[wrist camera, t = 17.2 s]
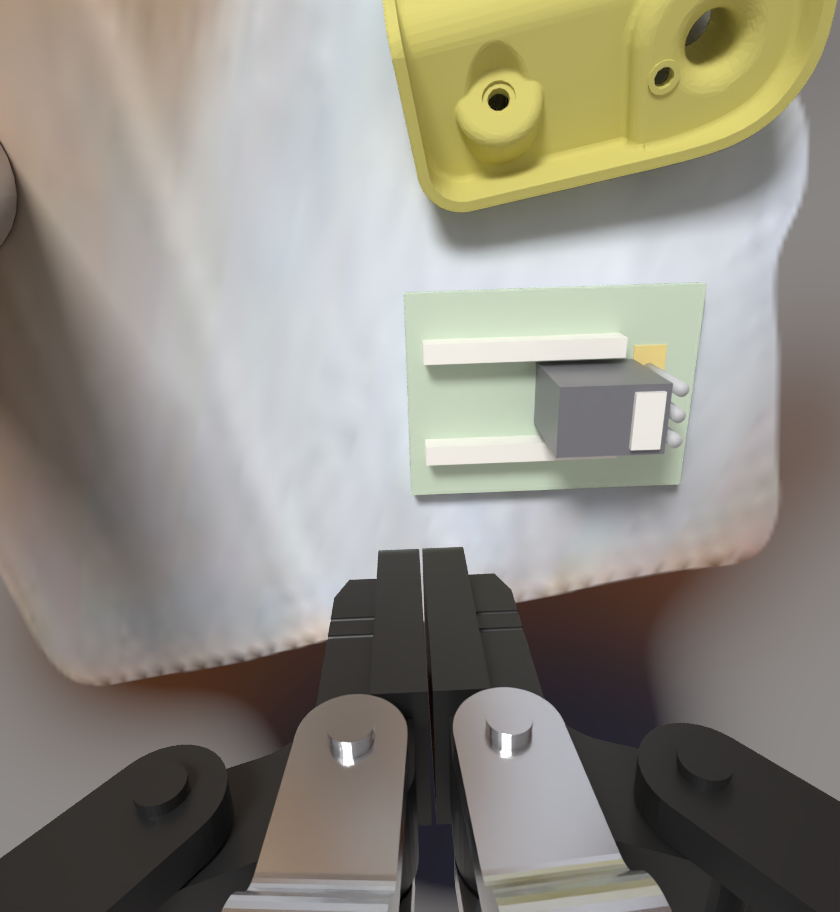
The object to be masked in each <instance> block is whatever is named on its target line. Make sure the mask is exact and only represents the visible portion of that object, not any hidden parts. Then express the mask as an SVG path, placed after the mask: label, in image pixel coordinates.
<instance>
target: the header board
mask: <svg viewBox="0 0 840 912" xmlns="http://www.w3.org/2000/svg"><path fill="white" fill-rule="evenodd" d="M706 287H707V284H703V283H698V282H694V283H664V284H635V285H606V286H577V287H547V288H518V289H489V290H459V291H430V292H404V309H405V335H406V362H407V388H408V414H409V440H410V467H411V492H412V495H429V494H454V493H479V492H503V491H528V490H553V489H578V488H602V487H627V486H652V485H677V484H680V478H681V471H682V463H683V456H684V449H685V441H686V434H687V427H688V419H689V412H690V404H691V397H692V390H693V382H694V375H695V368H696V360H697V353H698V345H699V338H700V331H701V323H702V316H703V309H704V301H705V294H706ZM613 359H634V360H636V361H637V362H639V363H641V364H642V365H644V366H646V367H647V368H649V369H650V370H652V371H654V372H655V373H657V374H659V375H660V376H662V377H664V378H665V379H667V380H668V381H670V382H672V383H673V389H672V397H671V405H670V413H669V421H668V428H667V436H666V444H665V452H664V454H651V455H624V456H596V457H569V458H556V457H555V456H554V454H553V453H552V451H551V449H550V448H549V446H548V445H547V443H546V442H545V440H544V439H543V437H542V436H541V434H540V433H539V431H538V429H537V428H536V426H535V425H534V406H535V383H536V362H552V361H583V360H613Z"/></svg>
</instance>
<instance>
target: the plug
mask: <svg viewBox="0 0 840 912" xmlns="http://www.w3.org/2000/svg"><path fill="white" fill-rule="evenodd" d="M672 389H673V383H672V382H670V381H668V380H667V379H665V378H664V377H662V376H660V375H659V374H657V373H655V372H654V371H652V370H650V369H649V368H647V367H646V366H644V365H642V364H641V363H639V362H637V361H636V360H634V359H613V360H583V361H552V362H536V383H535V406H534V425H535V426H536V428H537V429H538V431H539V433H540V434H541V436H542V437H543V439H544V440H545V442H546V443H547V445H548V446H549V448H550V449H551V451H552V453H553V454H554V456H555V457H556V458H569V457H596V456H624V455H651V454H664V452H665V444H666V436H667V428H668V421H669V413H670V405H671V397H672Z"/></svg>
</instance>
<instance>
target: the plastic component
mask: <svg viewBox="0 0 840 912" xmlns="http://www.w3.org/2000/svg"><path fill="white" fill-rule="evenodd" d="M836 3H837V0H383V7H384V15H385V23H386V30H387V36H388V41H389V47H390V52H391V56H392V61H393V66H394V70H395V75H396V80H397V84H398V89H399V93H400V98H401V102H402V107H403V112H404V116H405V121H406V125H407V130H408V134H409V139H410V144H411V148H412V153H413V157H414V162H415V167H416V171H417V176H418V180H419V183H420V185H421V188H422V190H423V192H424V193H425V194H426V195H427V197H428V198H429V199H430V200H431V201H432V202H433V203H435V204H436V205H437V206H439V207H441V208H443V209H446V210H448V211H453V212H470V211H475V210H479V209H483V208H487V207H492V206H496V205H500V204H505V203H509V202H513V201H518V200H522V199H526V198H531V197H535V196H539V195H543V194H548V193H552V192H556V191H561V190H565V189H569V188H574V187H578V186H582V185H586V184H591V183H595V182H599V181H604V180H608V179H612V178H617V177H621V176H625V175H629V174H634V173H638V172H642V171H647V170H651V169H655V168H660V167H664V166H667V165H671V164H675V163H679V162H683V161H687V160H691V159H695V158H698V157H701V156H704V155H708V154H711V153H714V152H716V151H719V150H722V149H724V148H727V147H730V146H732V145H734V144H736V143H738V142H740V141H742V140H744V139H746V138H748V137H750V136H751V135H753V134H755V133H756V132H758V131H759V130H761V129H762V128H763V127H765V126H766V125H768V124H769V123H770V122H772V121H773V120H774V119H775V118H776V117H777V116H778V115H779V114H780V113H781V112H782V111H783V110H785V108H786V107H787V106H788V105H789V104H790V103H791V102H792V101H793V99H794V98H795V97H796V96H797V95H798V93H799V92H800V90H801V89H802V88H803V87H804V85H805V83H806V82H807V81H808V79H809V77H810V76H811V74H812V72H813V71H814V69H815V67H816V65H817V63H818V61H819V59H820V57H821V54H822V52H823V49H824V47H825V44H826V41H827V38H828V35H829V32H830V28H831V24H832V20H833V16H834V11H835V7H836ZM709 10H711V14H710V20H709V23H708V25H707V27H706V29H705V31H704V33H703V34H702V35H701V36H700V37H699V38H698V39H697V40H696V41H694V42H693V43H692V44H690V45H687V46H685V42H686V38H687V36H688V34H689V31H690V29H691V28H692V26H693V25H694V23H695V22H696V21H697V20H698V19H699V18H700V17H701V16H702V15H703V14H705V13H706V12H707V11H709ZM664 67H670V69H669V76H668V77H667V79H666V80H665V81H664V82H662V83H661V84H655V81H654V78H655V76H656V74H657V72H658V71H660V70H661V69H662V68H664ZM495 94H503V95H504V96H506V97H507V98H508V101H509V103H508V106H507V107H506V108H504V109H503V110H501V111H495V110H493V109H491V108H490V106H489V105H488V101H489V100H490V98H491V97H492V96H494V95H495Z"/></svg>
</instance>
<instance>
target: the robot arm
mask: <svg viewBox="0 0 840 912" xmlns="http://www.w3.org/2000/svg"><path fill="white" fill-rule="evenodd" d="M16 202H17V193H16V186H15V179H14V175H13V172H12V169H11V166H10V163H9V160H8V157H7V156H6V154H5V152H4V150H3V148H2V146H1V145H0V245H1V244H2V243H3V242H4V240H5V239H6V237H7V235H8V234H9V232H10V230H11V228H12V225H13V221H14V218H15V214H16ZM422 552H423V586H424V617H425V641H426V657H425V641H424V624H423V607H422V591H421V574H420V558H419V549H405V550H382V551H379V552H378V567H377V579H361V580H349V581H348V582H347V583H346V585H345V586H344V587H343V588H342V589H341V591H340V592H339V593H338V594H337V595H336V597H335V598H334V603H333V609H332V615H331V622H330V627H329V633H328V640H327V645H326V651H325V657H324V662H323V668H322V674H321V681H320V686H319V692H318V698H317V704H316V708H315V709H313V710H312V711H311V712H310V713H309V714H308V715H307V716H306V717H305V718H304V719H303V721H302V722H301V724H300V725H299V727H298V729H297V732H296V735H295V738H294V740H293V741H292V742H291V743H289V744H288V745H287V746H285V747H283V748H282V749H280V750H278V751H276V752H274V753H272V754H270V755H267V756H264V757H262V758H259V759H256V760H253V761H249V762H246V763H243V764H240V765H237V766H234V767H231V768H228V769H226V768H225V765H224V763H223V761H222V760H221V758H220V757H219V756H218V755H217V754H216V753H214V752H213V751H211V750H209V749H207V748H204V747H200V746H195V745H177V746H171V747H167V748H163V749H159V750H157V751H154V752H152V753H149V754H147V755H145V756H143V757H141V758H139V759H138V760H136V761H134V762H133V763H132V764H130V765H128V766H127V767H126V768H124V769H123V770H121V771H120V772H119V773H117V774H116V775H115V776H113V777H112V778H111V779H109V780H108V781H106V782H105V783H104V784H102V785H101V786H100V787H98V788H97V789H95V790H94V791H93V792H91V793H90V794H88V795H87V796H86V797H84V798H83V799H82V800H80V801H79V802H77V803H76V804H75V805H73V806H72V807H71V808H69V809H68V810H66V811H65V812H64V813H62V814H61V815H60V816H58V817H57V818H55V819H54V820H53V821H51V822H50V823H49V824H47V825H46V826H44V827H43V828H42V829H40V830H39V831H38V832H36V833H35V834H33V835H32V836H31V837H29V838H28V839H26V840H25V841H24V842H22V843H21V844H20V845H18V846H17V847H15V848H14V849H13V850H11V851H10V852H9V853H7V854H6V855H4V856H3V857H2V858H0V912H414V898H415V896H414V895H415V875H416V872H417V868H418V859H419V849H418V825H432V815H431V784H430V753H429V723H428V722H429V721H428V693H429V709H430V725H431V742H432V756H433V757H432V758H433V773H434V788H435V789H434V790H435V806H436V822H437V824H451V823H452V829H453V841H454V853H455V887H456V893H457V899H458V906H459V912H840V801H838V800H836V799H835V798H833V797H831V796H829V795H828V794H826V793H824V792H823V791H821V790H819V789H818V788H816V787H814V786H812V785H811V784H809V783H807V782H806V781H804V780H802V779H801V778H799V777H797V776H795V775H794V774H792V773H790V772H789V771H787V770H785V769H783V768H782V767H780V766H778V765H776V764H775V763H773V762H772V761H770V760H768V759H767V758H765V757H763V756H761V755H760V754H758V753H756V752H755V751H753V750H751V749H749V748H748V747H746V746H745V745H743V744H741V743H739V742H738V741H736V740H734V739H733V738H731V737H729V736H727V735H725V734H723V733H721V732H718V731H716V730H714V729H711V728H708V727H704V726H701V725H695V724H689V723H674V724H667V725H663V726H660V727H658V728H656V729H653V730H652V731H651V732H649V733H648V734H647V735H646V736H645V737H644V739H643V740H642V742H641V744H640V746H639V749H638V748H633V747H629V746H624V745H620V744H615V743H611V742H606V741H602V740H598V739H595V738H591V737H589V736H586V735H584V734H581V733H579V732H578V731H576V730H574V729H572V728H570V727H569V726H568V725H566V724H565V723H564V721H563V719H562V717H561V716H560V714H559V713H558V712H557V710H556V709H555V708H554V707H553V706H552V705H551V704H550V703H549V702H547V701H546V700H545V699H544V697H543V694H542V691H541V687H540V684H539V681H538V677H537V674H536V671H535V667H534V664H533V661H532V657H531V654H530V651H529V647H528V644H527V641H526V637H525V634H524V631H523V630H522V624H521V621H520V617H519V615H518V613H517V607H516V604H515V601H514V597H513V594H512V591H511V589H510V588H509V587H508V586H507V585H506V584H505V583H504V582H502V581H501V580H500V579H499V578H498V577H497V576H496V575H495V574H474V575H468V570H467V565H466V560H465V554H464V550H463V547H449V548H426V549H423V550H422ZM426 661H427V675H426ZM427 677H428V691H427Z"/></svg>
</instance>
